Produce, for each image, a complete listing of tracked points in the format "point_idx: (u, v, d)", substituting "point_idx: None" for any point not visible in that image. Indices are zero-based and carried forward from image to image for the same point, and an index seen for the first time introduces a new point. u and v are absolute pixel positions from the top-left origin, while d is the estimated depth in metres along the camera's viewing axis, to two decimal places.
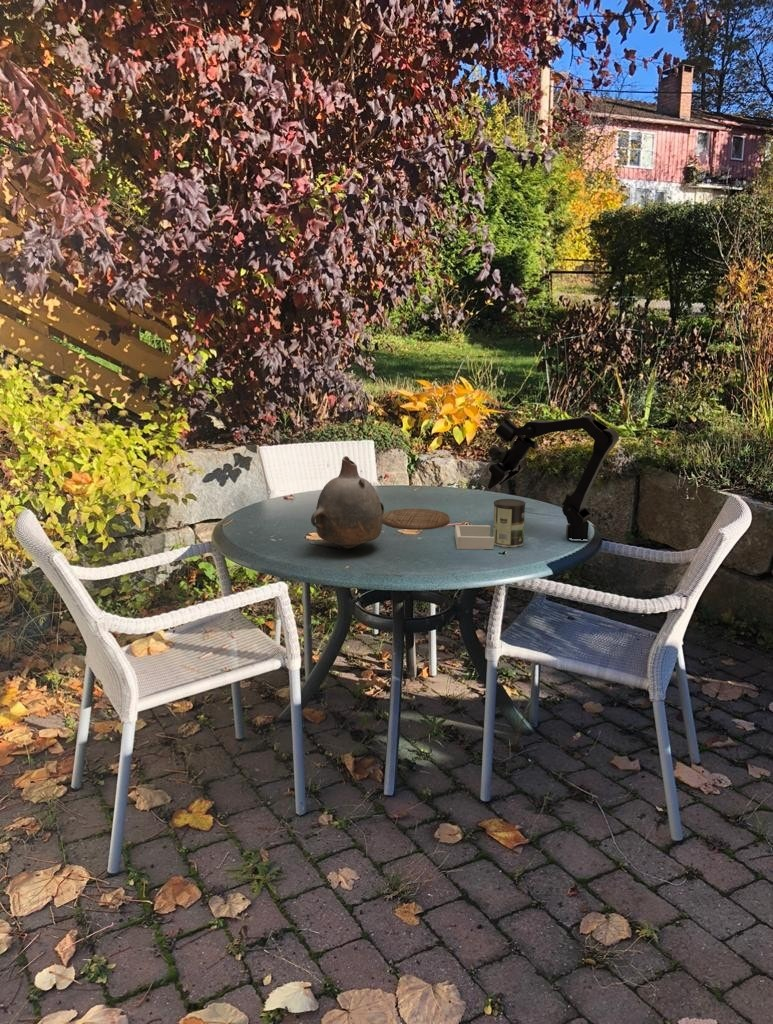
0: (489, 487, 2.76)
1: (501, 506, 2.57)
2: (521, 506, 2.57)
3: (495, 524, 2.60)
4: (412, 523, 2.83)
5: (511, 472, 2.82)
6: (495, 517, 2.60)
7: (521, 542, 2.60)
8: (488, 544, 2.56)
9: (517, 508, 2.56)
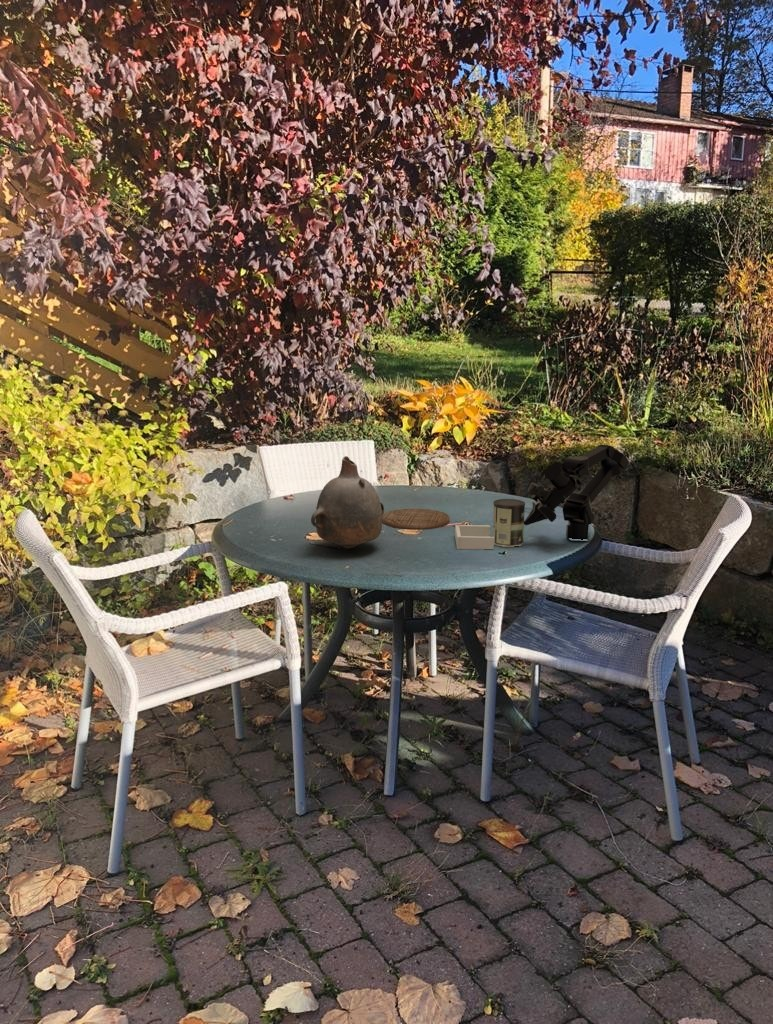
0: (525, 523, 2.61)
1: (501, 506, 2.57)
2: (521, 506, 2.57)
3: (495, 524, 2.60)
4: (412, 523, 2.83)
5: None
6: (495, 517, 2.60)
7: (521, 542, 2.60)
8: (488, 544, 2.56)
9: (516, 508, 2.56)
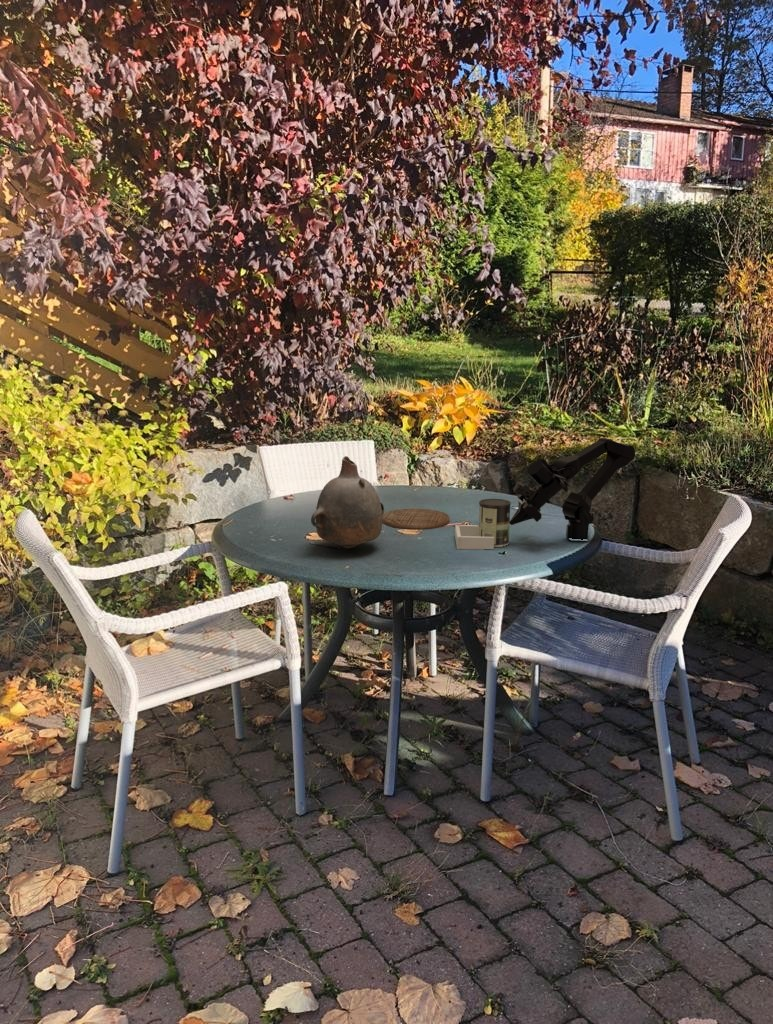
0: (511, 523, 2.61)
1: (486, 506, 2.57)
2: (506, 506, 2.57)
3: (480, 524, 2.60)
4: (412, 523, 2.83)
5: None
6: (480, 517, 2.60)
7: (506, 542, 2.61)
8: (488, 544, 2.56)
9: (502, 508, 2.56)
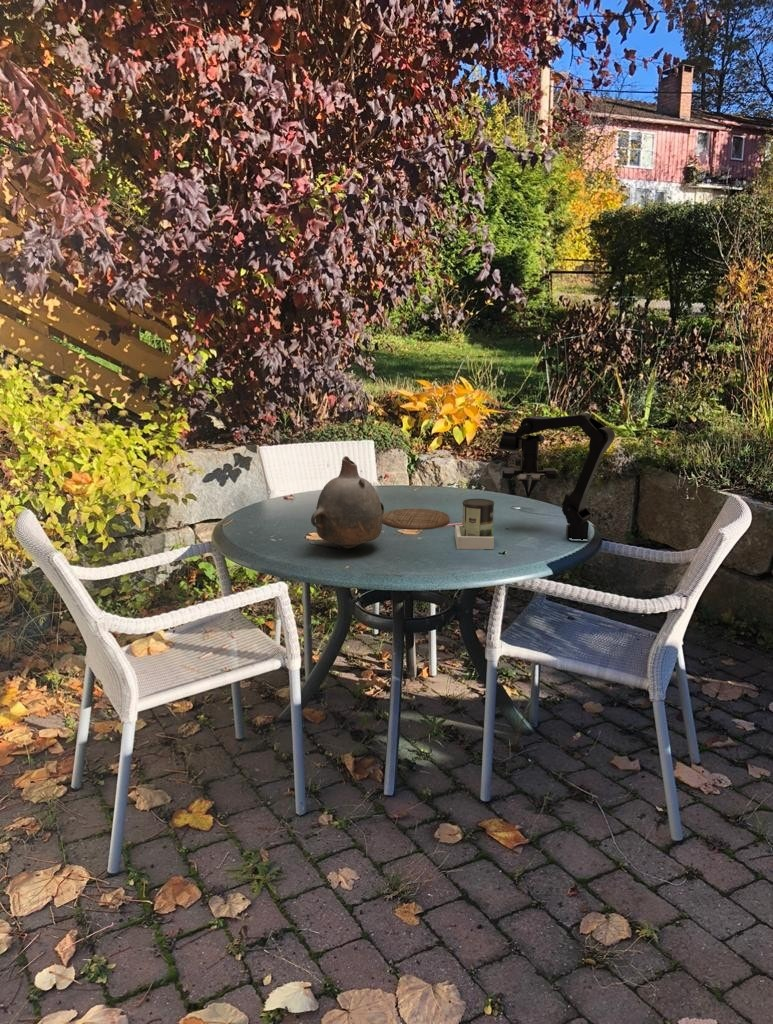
0: None
1: (470, 506, 2.57)
2: (490, 506, 2.57)
3: (464, 524, 2.61)
4: (412, 523, 2.83)
5: (530, 481, 2.73)
6: (464, 516, 2.60)
7: None
8: (488, 544, 2.56)
9: (485, 508, 2.57)
